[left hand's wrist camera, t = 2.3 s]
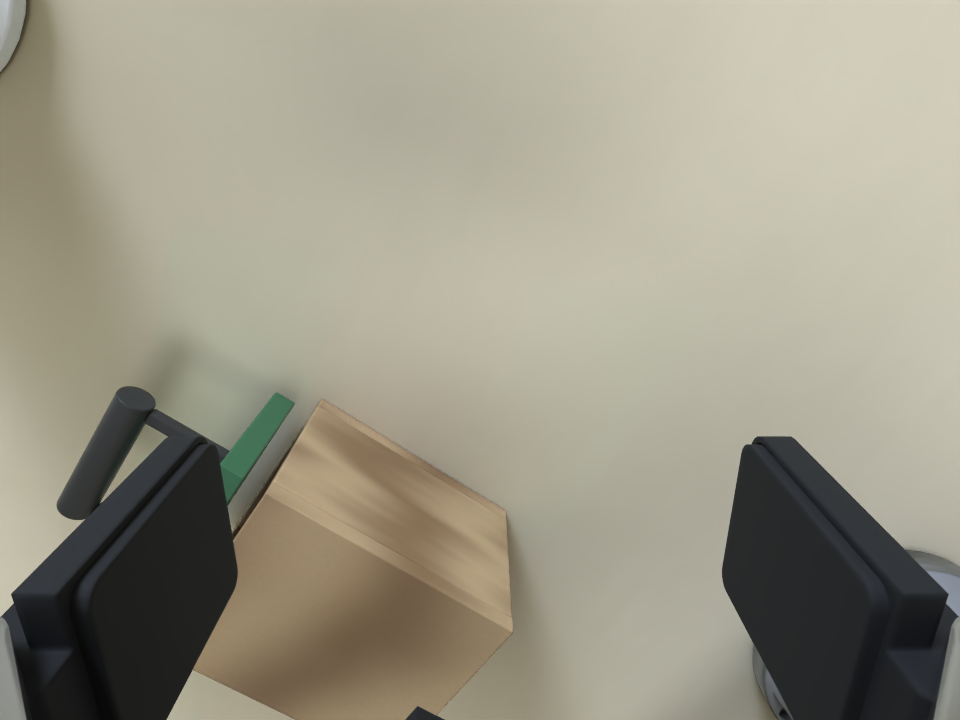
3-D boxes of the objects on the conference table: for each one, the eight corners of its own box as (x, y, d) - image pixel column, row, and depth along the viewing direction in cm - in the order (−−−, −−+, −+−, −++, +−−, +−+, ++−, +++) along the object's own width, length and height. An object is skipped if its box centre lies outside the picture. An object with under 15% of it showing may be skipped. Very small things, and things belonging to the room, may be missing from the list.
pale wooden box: (234, 528, 39) (157, 653, 30) (322, 398, 36) (265, 493, 26) (410, 624, 41) (389, 766, 32) (506, 510, 38) (513, 632, 29)
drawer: (108, 462, 36) (11, 549, 29) (180, 334, 33) (94, 393, 26) (367, 604, 40) (341, 713, 32) (453, 497, 37) (445, 591, 29)
